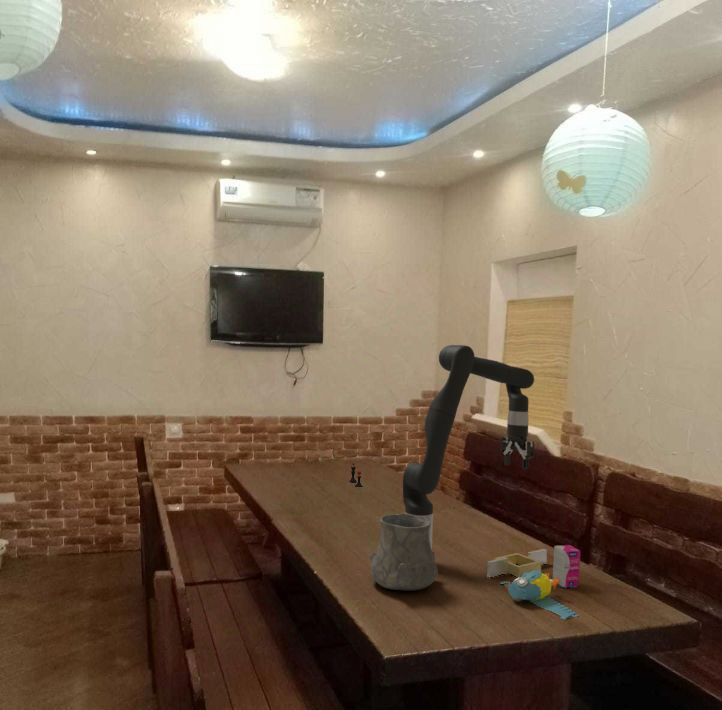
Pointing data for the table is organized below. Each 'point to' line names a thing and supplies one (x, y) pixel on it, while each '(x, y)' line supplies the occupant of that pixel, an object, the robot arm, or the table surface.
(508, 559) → the square frame with handle
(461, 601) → the table surface
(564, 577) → the supplement box
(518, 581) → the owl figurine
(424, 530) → the vessel
